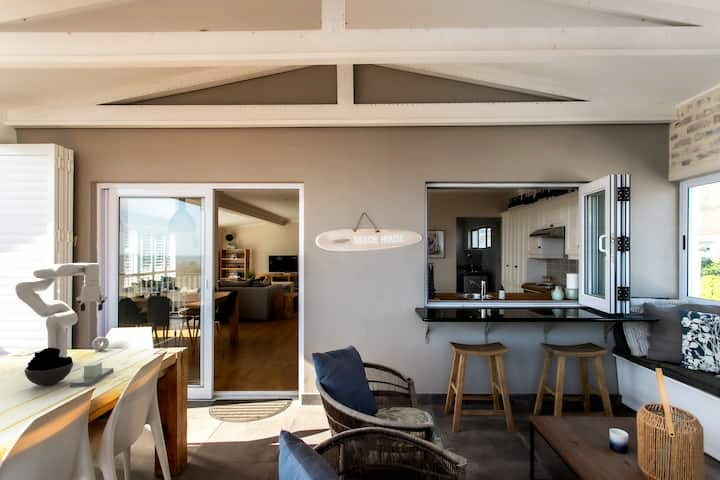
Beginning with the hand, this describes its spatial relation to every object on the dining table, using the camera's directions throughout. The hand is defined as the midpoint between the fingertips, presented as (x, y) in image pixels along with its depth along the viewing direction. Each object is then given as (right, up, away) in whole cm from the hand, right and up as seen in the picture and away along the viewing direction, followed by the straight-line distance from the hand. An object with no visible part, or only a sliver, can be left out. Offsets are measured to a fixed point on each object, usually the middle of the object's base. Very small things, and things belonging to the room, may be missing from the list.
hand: (91, 310), depth 238 cm
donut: (-16, -34, +32) cm, 50 cm away
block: (+19, -31, -26) cm, 45 cm away
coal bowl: (+2, -33, -35) cm, 48 cm away
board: (+19, -33, -26) cm, 46 cm away
